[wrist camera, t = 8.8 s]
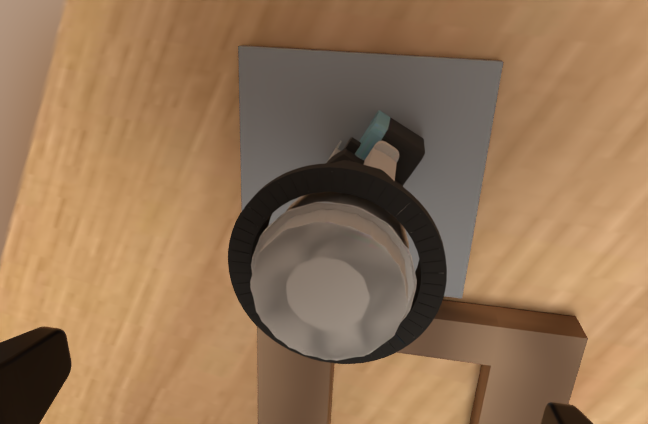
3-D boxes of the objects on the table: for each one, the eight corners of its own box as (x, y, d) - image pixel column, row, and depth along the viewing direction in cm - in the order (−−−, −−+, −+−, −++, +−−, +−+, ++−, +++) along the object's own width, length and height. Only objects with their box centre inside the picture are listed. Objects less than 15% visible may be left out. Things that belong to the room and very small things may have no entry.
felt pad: (246, 266, 23) (242, 271, 23) (242, 45, 20) (238, 46, 19) (461, 292, 22) (462, 298, 22) (501, 60, 18) (503, 61, 18)
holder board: (266, 475, 28) (258, 500, 27) (266, 278, 23) (256, 295, 22) (518, 520, 26) (524, 550, 25) (575, 316, 22) (587, 338, 20)
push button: (367, 271, 22) (335, 456, 13) (265, 208, 22) (157, 351, 12) (459, 150, 19) (502, 271, 10) (345, 76, 19) (282, 131, 10)
